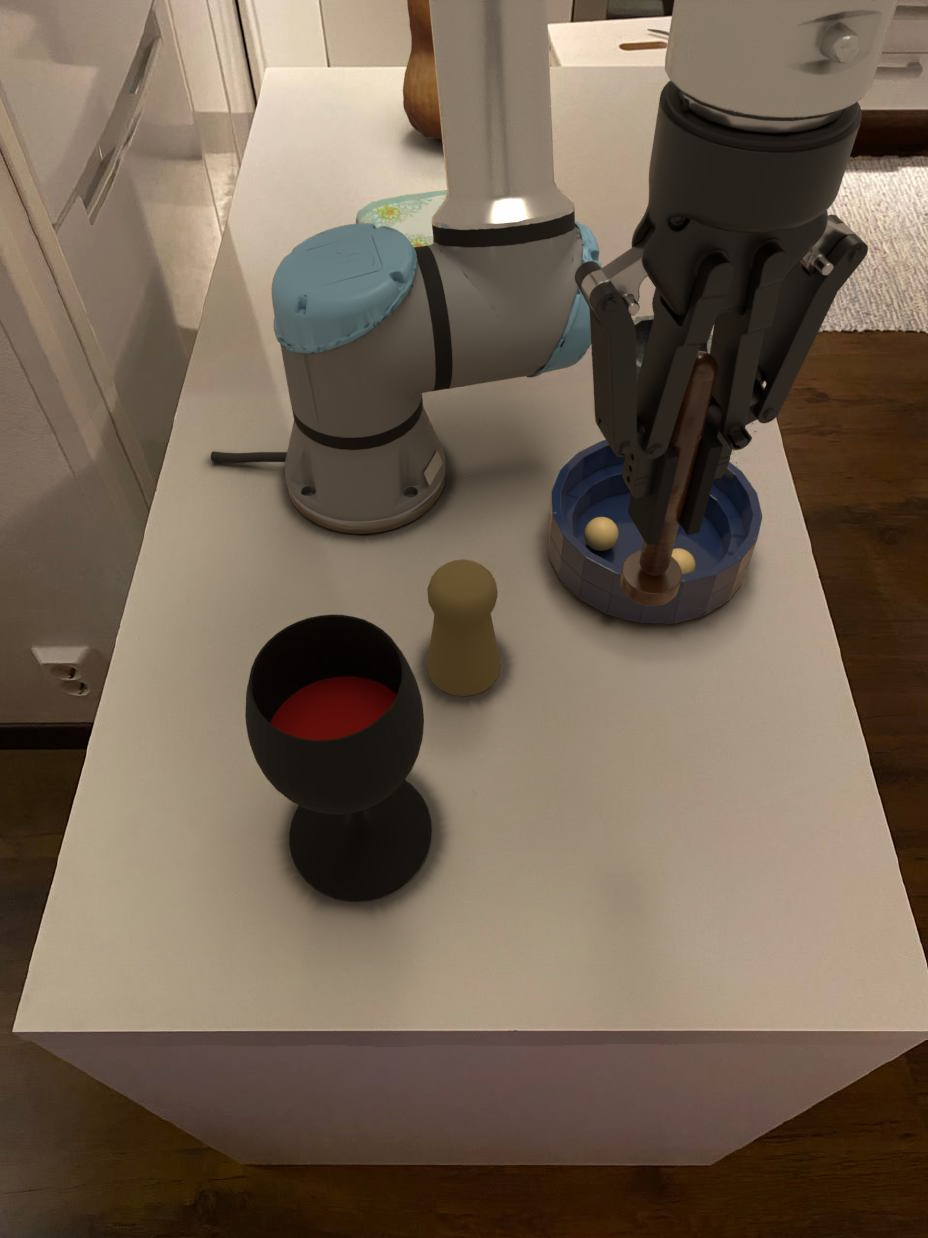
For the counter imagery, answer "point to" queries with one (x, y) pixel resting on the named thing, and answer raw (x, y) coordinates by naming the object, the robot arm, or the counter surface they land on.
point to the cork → (463, 628)
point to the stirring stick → (673, 495)
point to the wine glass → (342, 752)
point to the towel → (405, 215)
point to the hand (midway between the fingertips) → (663, 521)
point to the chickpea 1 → (601, 533)
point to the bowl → (595, 575)
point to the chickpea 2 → (684, 560)
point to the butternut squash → (421, 74)
